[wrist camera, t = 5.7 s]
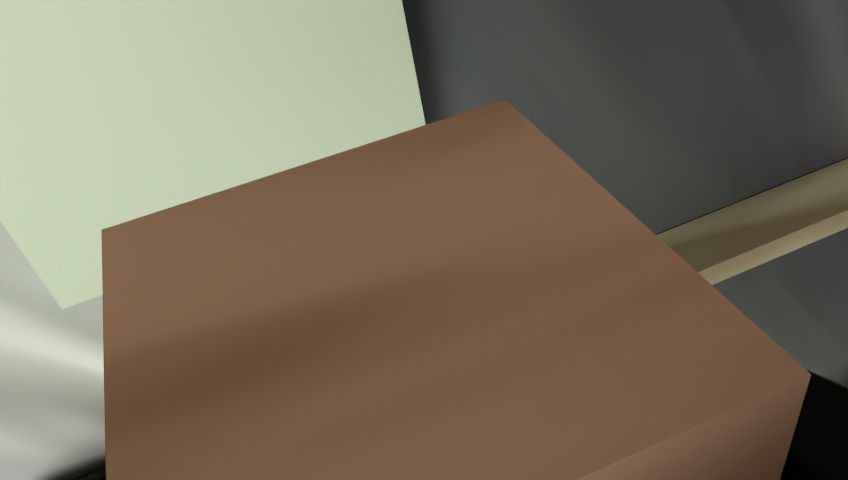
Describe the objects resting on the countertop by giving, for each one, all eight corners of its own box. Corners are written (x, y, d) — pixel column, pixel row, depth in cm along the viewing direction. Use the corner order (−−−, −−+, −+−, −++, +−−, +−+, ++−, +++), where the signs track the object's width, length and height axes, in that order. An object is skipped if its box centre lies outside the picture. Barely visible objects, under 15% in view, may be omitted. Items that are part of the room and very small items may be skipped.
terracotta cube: (526, 362, 12) (726, 656, 8) (238, 480, 11) (315, 874, 7) (505, 98, 9) (811, 374, 5) (100, 229, 8) (110, 688, 4)
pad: (423, 158, 22) (435, 174, 21) (63, 287, 20) (61, 309, 19) (336, -274, 15) (349, -274, 14) (-228, -142, 13) (-248, -133, 12)
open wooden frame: (865, 168, 30) (917, 198, 28) (529, 305, 28) (561, 348, 26) (1005, -339, 20) (1102, -345, 18) (476, -199, 17) (525, -189, 15)
